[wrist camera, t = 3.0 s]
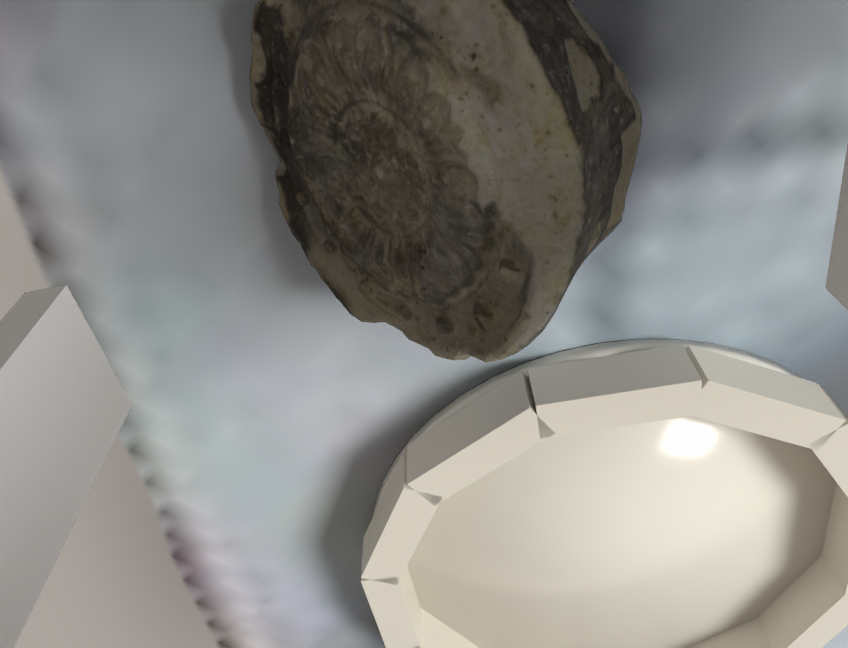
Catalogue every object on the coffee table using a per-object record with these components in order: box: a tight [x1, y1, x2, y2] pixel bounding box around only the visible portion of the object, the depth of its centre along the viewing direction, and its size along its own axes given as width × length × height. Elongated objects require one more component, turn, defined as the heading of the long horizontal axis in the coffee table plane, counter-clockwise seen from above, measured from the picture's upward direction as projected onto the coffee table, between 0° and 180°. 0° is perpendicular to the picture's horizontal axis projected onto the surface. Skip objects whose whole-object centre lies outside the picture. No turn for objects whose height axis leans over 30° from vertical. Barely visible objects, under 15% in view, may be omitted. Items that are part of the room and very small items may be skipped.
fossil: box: [250, 0, 642, 362], centre depth 18 cm, size 11×9×10 cm
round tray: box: [361, 339, 848, 648], centre depth 30 cm, size 21×21×3 cm
